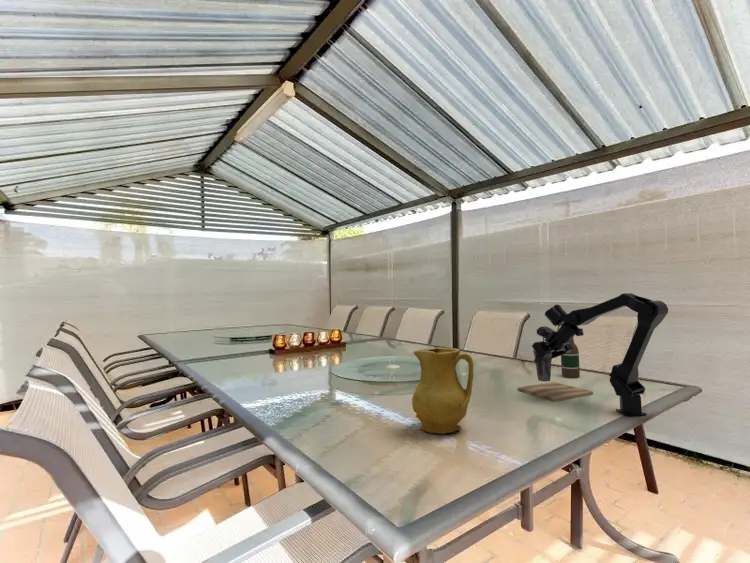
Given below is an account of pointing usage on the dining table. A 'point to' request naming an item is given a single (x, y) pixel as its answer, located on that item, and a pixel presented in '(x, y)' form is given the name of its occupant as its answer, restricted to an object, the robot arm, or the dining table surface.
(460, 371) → the dining table surface
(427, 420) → the pitcher
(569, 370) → the beer bottle
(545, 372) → the beverage cup
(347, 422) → the dining table surface
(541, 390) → the walnut board
